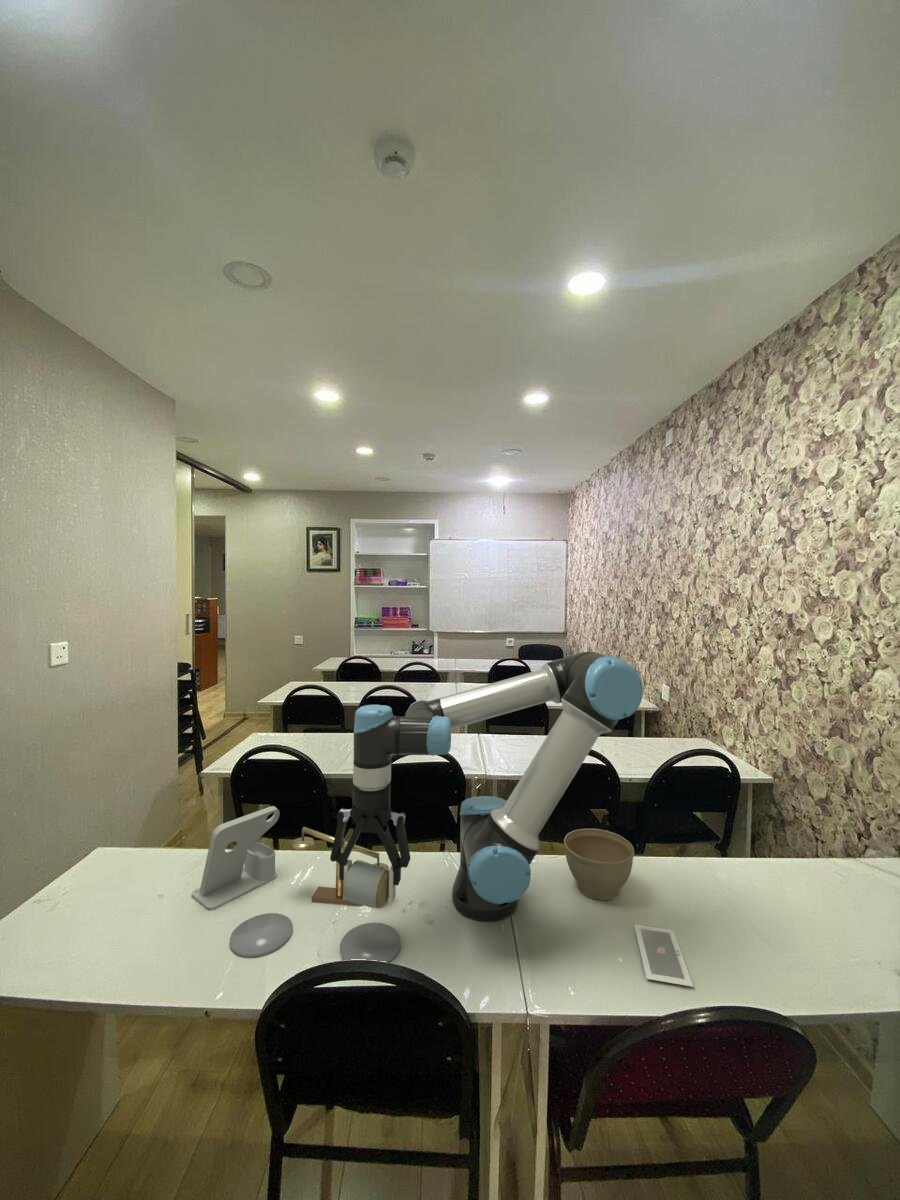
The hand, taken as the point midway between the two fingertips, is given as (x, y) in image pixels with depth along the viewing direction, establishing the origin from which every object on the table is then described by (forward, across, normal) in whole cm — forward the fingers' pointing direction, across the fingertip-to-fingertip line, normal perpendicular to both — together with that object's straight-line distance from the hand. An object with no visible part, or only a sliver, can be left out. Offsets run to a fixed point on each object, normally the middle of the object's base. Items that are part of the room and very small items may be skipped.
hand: (369, 897), depth 94 cm
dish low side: (+10, 0, 0) cm, 10 cm away
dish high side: (+10, +23, 0) cm, 25 cm away
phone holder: (+10, +38, -16) cm, 42 cm away
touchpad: (+10, -58, -5) cm, 59 cm away
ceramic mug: (+1, 0, -1) cm, 2 cm away
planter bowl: (+9, -49, -26) cm, 57 cm away
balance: (+10, +11, -14) cm, 21 cm away
